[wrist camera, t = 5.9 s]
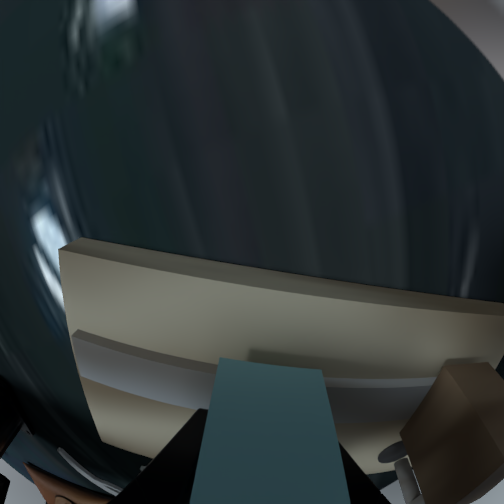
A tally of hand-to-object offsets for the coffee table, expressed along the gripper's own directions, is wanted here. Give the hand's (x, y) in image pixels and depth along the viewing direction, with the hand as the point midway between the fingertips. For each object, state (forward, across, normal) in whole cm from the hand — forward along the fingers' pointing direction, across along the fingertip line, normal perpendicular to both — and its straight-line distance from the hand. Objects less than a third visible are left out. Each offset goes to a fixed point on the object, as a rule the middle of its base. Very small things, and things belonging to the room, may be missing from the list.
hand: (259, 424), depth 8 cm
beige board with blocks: (+3, -2, +2) cm, 4 cm away
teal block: (+1, 0, +1) cm, 2 cm away
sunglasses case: (+3, +16, +29) cm, 33 cm away
